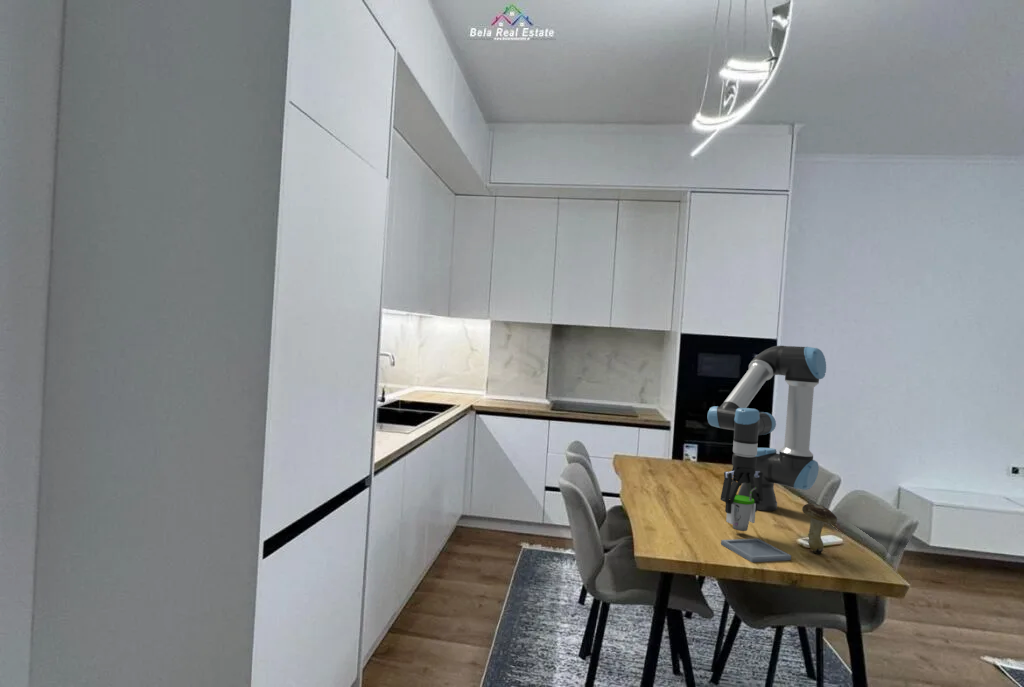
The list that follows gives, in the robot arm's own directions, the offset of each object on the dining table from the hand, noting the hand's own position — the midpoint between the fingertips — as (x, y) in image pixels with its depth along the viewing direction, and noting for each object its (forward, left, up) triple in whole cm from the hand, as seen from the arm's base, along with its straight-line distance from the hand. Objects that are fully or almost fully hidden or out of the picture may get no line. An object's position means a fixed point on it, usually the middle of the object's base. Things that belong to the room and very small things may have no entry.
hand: (740, 522), depth 188 cm
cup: (0, 0, -2) cm, 2 cm away
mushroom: (-14, +18, -4) cm, 23 cm away
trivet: (+6, +15, -4) cm, 17 cm away
